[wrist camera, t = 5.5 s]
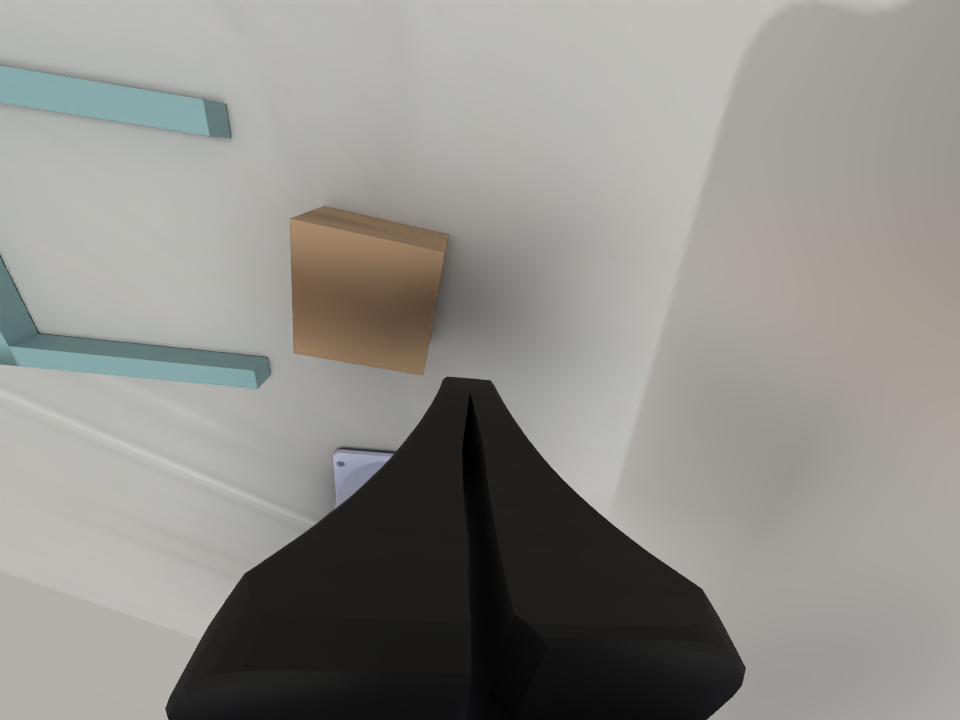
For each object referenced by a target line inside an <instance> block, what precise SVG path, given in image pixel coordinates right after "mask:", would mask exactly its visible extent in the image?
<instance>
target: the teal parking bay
mask: <svg viewBox="0 0 960 720" xmlns="http://www.w3.org/2000/svg"><path fill="white" fill-rule="evenodd" d="M0 103H4V104H10V105H17V106H23V107H29V108H36V109H42V110H48V111H55V112H61V113H67V114H74V115H80V116H86V117H93V118H99V119H105V120H112V121H118V122H124V123H131V124H137V125H143V126H149V127H156V128H162V129H168V130H175V131H181V132H187V133H194V134H200V135H206V136H216V137H229V138H231V134H230V128H229V122H228V116H227V110H226V104H222V103H217V102H212V101H208V100H203V99H197V98H191V97H185V96H179V95H173V94H167V93H161V92H155V91H149V90H143V89H137V88H131V87H125V86H119V85H113V84H107V83H101V82H95V81H89V80H83V79H77V78H71V77H65V76H59V75H53V74H47V73H41V72H35V71H29V70H24V69H18V68H12V67H6V66H0ZM0 364H1V365H12V366H22V367H33V368H43V369H54V370H64V371H75V372H85V373H96V374H106V375H117V376H127V377H138V378H148V379H158V380H169V381H179V382H190V383H200V384H211V385H221V386H232V387H242V388H253V389H258V388H259V387H260V386H261V385H262V383H263V382H264V381H265V380H266V379H267V378H268V377H269V376H270V370H269V364H268V358H267V357H259V356H249V355H239V354H230V353H220V352H210V351H201V350H191V349H181V348H172V347H162V346H152V345H143V344H133V343H124V342H114V341H104V340H95V339H85V338H75V337H66V336H56V335H46V334H38V332H37V330H36V328H35V326H34V324H33V322H32V320H31V318H30V316H29V313H28V311H27V309H26V307H25V305H24V303H23V301H22V299H21V297H20V295H19V293H18V291H17V289H16V287H15V285H14V283H13V281H12V279H11V277H10V275H9V273H8V271H7V269H6V267H5V265H4V263H3V261H2V259H1V257H0Z"/></svg>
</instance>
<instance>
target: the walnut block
mask: <svg viewBox="0 0 960 720" xmlns="http://www.w3.org/2000/svg"><path fill="white" fill-rule="evenodd" d="M290 237H291V272H292V308H293V344H294V353H296V354H302V355H308V356H313V357H319V358H325V359H331V360H337V361H342V362H348V363H354V364H360V365H366V366H372V367H377V368H383V369H389V370H395V371H401V372H406V373H412V374H418V375H423V372H424V367H425V362H426V357H427V353H428V348H429V343H430V337H431V332H432V326H433V320H434V315H435V309H436V303H437V298H438V292H439V286H440V281H441V275H442V269H443V264H444V258H445V252H446V247H447V241H448V234H444V233H439V232H435V231H431V230H426V229H422V228H417V227H413V226H409V225H404V224H400V223H395V222H391V221H387V220H382V219H378V218H373V217H369V216H365V215H360V214H356V213H351V212H347V211H343V210H338V209H334V208H329V207H325V206H324V207H321V208H318V209H315V210H313V211H310V212H307V213H304V214H301V215H299V216H296V217H293V218H290Z"/></svg>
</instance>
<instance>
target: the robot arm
mask: <svg viewBox="0 0 960 720" xmlns="http://www.w3.org/2000/svg"><path fill="white" fill-rule="evenodd" d="M340 461H342V462H343V463H342V462H340ZM333 465H334V479H335V492H336V504H335V506H334V509H333V511H332V512H330V513H329V514H328V515H327V516H325V517H324V518H323V519H322V520H320V521H319V522H318V523H317V524H315V525H314V526H313V527H312V528H310V529H309V530H307V531H306V532H305V533H303V534H302V535H301V536H299V537H298V538H296V539H295V540H293V541H292V542H290V543H289V544H288V545H286V546H285V547H283V548H282V549H280V550H279V551H277V552H276V553H274V554H273V555H272V556H270V557H269V558H267V559H266V560H264V561H263V562H261V563H260V564H259V565H257V566H256V567H254V568H252V569H251V570H249V571H248V572H246V573H245V574H244V575H243V577H242V578H241V580H240V581H239V582H238V584H237V585H236V587H235V588H234V589H233V591H232V592H231V594H230V595H229V597H228V598H227V599H226V601H225V602H224V604H223V606H222V607H221V609H220V610H219V611H218V613H217V614H216V616H215V617H214V619H213V620H212V622H211V623H210V625H209V626H208V628H207V630H206V631H205V633H204V635H203V637H202V638H201V640H200V642H199V644H198V646H197V648H196V650H195V652H194V653H193V655H192V657H191V659H190V660H189V663H188V664H187V666H186V668H185V670H184V672H183V673H182V675H181V677H180V679H179V681H178V683H177V685H176V686H175V688H174V690H173V692H172V694H171V696H170V698H169V700H168V703H167V706H166V713H167V717H168V719H169V720H707V719H708V718H709V717H710V716H711V715H713V714H714V713H715V712H716V711H717V710H718V709H719V708H720V707H721V706H723V705H724V704H725V703H726V702H727V701H728V700H729V699H730V698H731V697H733V695H734V694H735V693H736V692H737V691H738V689H739V688H740V687H741V686H742V682H743V679H744V674H745V669H746V668H745V666H744V664H743V662H742V660H741V658H740V656H739V654H738V652H737V650H736V648H735V646H734V644H733V642H732V640H731V639H730V637H729V635H728V633H727V631H726V629H725V627H724V625H723V623H722V622H721V620H720V618H719V616H718V614H717V613H716V611H715V610H714V608H713V606H712V605H711V603H710V601H709V599H708V598H707V596H706V595H705V593H704V591H703V590H702V589H701V588H700V587H698V586H697V585H695V584H694V583H693V582H691V581H690V580H688V579H687V578H685V577H684V576H682V575H681V574H679V573H678V572H676V571H675V570H674V569H672V568H671V567H669V566H668V565H666V564H665V563H663V562H662V561H660V560H659V559H658V558H656V557H655V556H653V555H652V554H650V553H649V552H648V551H646V550H645V549H643V548H642V547H641V546H639V545H638V544H637V543H636V542H634V541H633V540H632V539H630V538H629V537H628V536H626V535H625V534H624V533H623V532H621V531H620V530H619V529H618V528H616V527H615V526H614V525H612V524H611V523H610V522H609V521H608V520H607V519H605V518H604V517H603V516H602V515H601V514H599V513H598V512H597V511H596V510H595V509H594V508H593V507H591V506H590V505H589V504H588V503H587V502H586V501H585V500H584V499H583V498H582V497H580V496H579V495H578V494H577V493H576V492H575V491H574V490H573V489H572V488H571V487H570V486H569V485H568V484H567V483H566V482H565V481H564V480H563V479H562V478H561V477H560V476H559V475H558V474H557V473H556V472H555V471H554V470H553V469H552V468H551V467H550V465H549V464H548V463H547V462H546V461H545V460H544V458H543V457H542V456H541V455H540V454H539V452H538V451H537V450H536V449H535V447H534V446H533V445H532V443H531V442H530V441H529V440H528V438H527V437H526V435H525V434H524V433H523V431H522V430H521V428H520V427H519V426H518V424H517V423H516V421H515V420H514V418H513V417H512V415H511V414H510V412H509V411H508V409H507V407H506V406H505V404H504V402H503V401H502V399H501V397H500V395H499V394H498V392H497V390H496V388H495V386H494V384H493V383H492V382H491V381H490V380H480V379H469V378H457V377H446V378H444V379H443V380H442V384H441V387H440V389H439V391H438V393H437V395H436V397H435V399H434V400H433V402H432V404H431V406H430V407H429V409H428V410H427V412H426V413H425V415H424V416H423V418H422V419H421V421H420V422H419V424H418V425H417V426H416V428H415V429H414V430H413V431H412V433H411V434H410V435H409V437H408V438H407V439H406V441H405V442H404V443H403V444H402V445H401V447H400V448H399V449H398V450H397V451H396V452H395V453H394V454H391V453H379V452H367V451H355V450H342V449H341V450H337V451H335V453H334V455H333Z"/></svg>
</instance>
